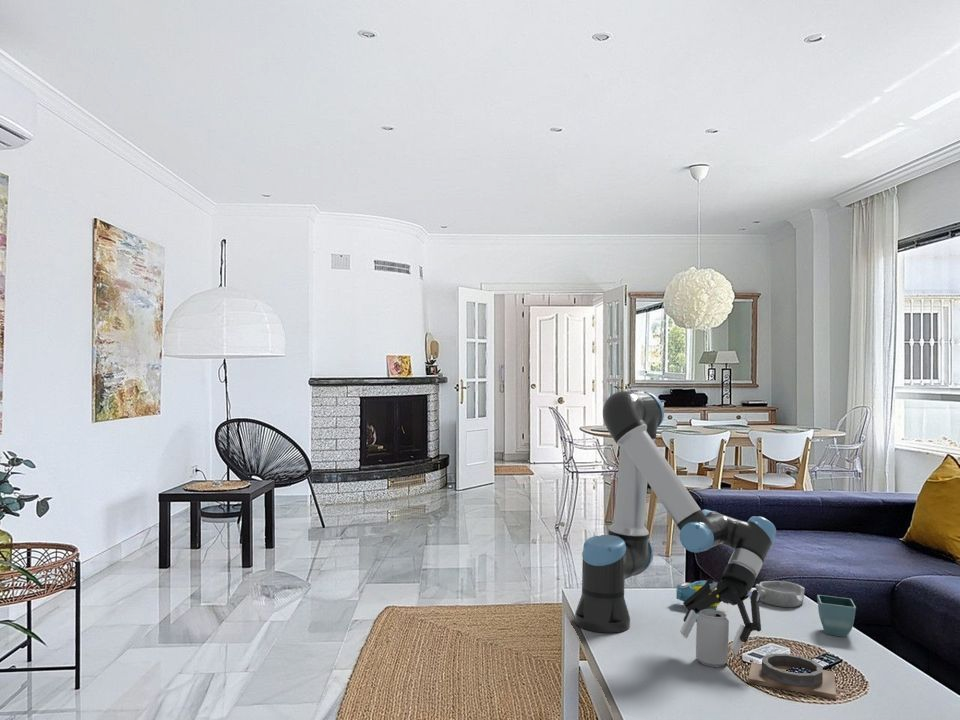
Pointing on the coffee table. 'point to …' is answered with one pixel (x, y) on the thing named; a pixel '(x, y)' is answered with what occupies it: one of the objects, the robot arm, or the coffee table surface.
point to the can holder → (793, 675)
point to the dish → (781, 593)
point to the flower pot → (836, 614)
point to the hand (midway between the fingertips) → (707, 643)
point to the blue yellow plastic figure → (692, 592)
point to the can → (712, 638)
